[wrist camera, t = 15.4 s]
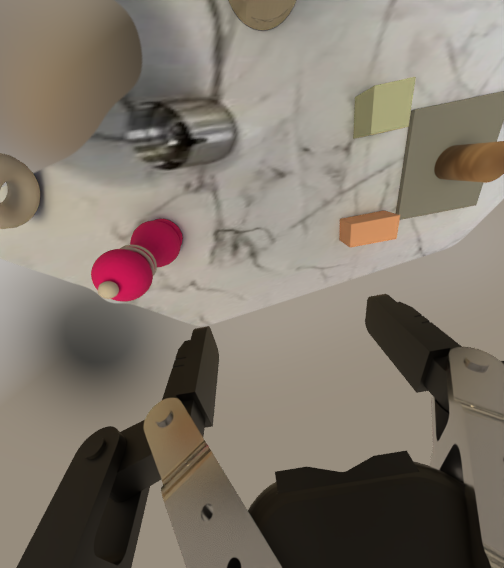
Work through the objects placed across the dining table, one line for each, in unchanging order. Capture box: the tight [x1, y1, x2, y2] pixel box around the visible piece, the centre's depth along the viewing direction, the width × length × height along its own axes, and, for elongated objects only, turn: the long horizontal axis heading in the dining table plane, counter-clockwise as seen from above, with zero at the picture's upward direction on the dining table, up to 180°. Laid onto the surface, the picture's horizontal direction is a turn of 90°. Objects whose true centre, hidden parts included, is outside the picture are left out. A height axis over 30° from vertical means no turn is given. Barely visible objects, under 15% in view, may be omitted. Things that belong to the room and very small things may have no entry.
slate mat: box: [396, 91, 504, 220], centre depth 35 cm, size 16×14×1 cm
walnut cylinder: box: [434, 141, 504, 182], centre depth 31 cm, size 5×5×7 cm
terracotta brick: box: [339, 211, 400, 247], centre depth 38 cm, size 8×4×4 cm, turn 100°
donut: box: [0, 153, 40, 229], centre depth 29 cm, size 10×4×10 cm, turn 159°
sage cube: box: [353, 77, 416, 139], centre depth 29 cm, size 5×5×5 cm
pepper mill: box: [91, 219, 183, 301], centre depth 29 cm, size 7×7×20 cm
